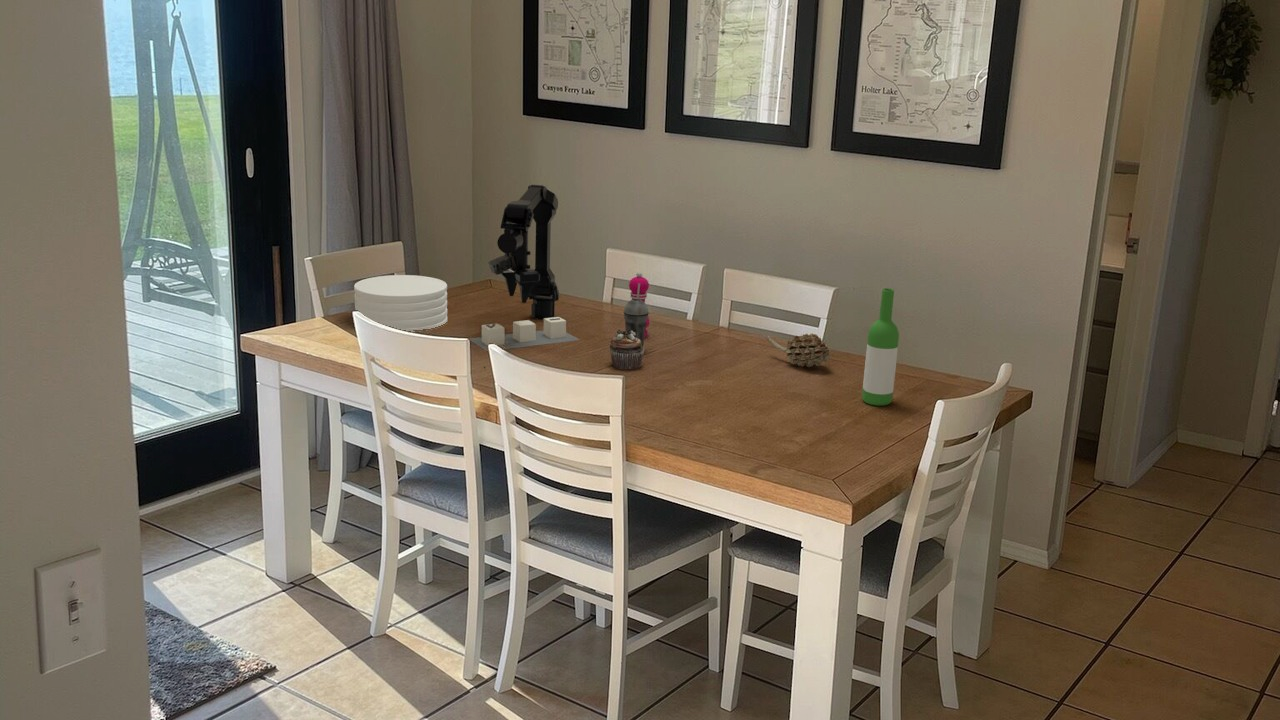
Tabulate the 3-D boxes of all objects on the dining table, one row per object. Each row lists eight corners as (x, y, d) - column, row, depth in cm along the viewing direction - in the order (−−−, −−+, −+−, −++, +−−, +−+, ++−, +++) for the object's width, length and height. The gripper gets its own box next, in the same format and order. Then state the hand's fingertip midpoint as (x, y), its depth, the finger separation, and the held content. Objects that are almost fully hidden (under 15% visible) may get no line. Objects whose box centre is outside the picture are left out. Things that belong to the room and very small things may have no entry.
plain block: (528, 336, 345) (528, 320, 343) (535, 340, 341) (535, 324, 339) (513, 338, 342) (513, 321, 341) (520, 342, 338) (520, 325, 337)
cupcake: (614, 371, 317) (615, 336, 314) (605, 361, 326) (606, 326, 323) (647, 369, 319) (649, 335, 316) (638, 359, 328) (639, 325, 325)
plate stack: (438, 335, 345) (437, 297, 342) (344, 331, 345) (343, 293, 342) (454, 311, 372) (454, 276, 369) (368, 308, 372) (367, 273, 369)
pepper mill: (649, 333, 355) (652, 270, 349) (647, 340, 348) (650, 275, 342) (626, 332, 356) (628, 268, 350) (623, 338, 349) (626, 273, 343)
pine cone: (836, 369, 327) (839, 335, 324) (818, 376, 320) (821, 341, 317) (771, 352, 340) (773, 320, 337) (752, 359, 333) (755, 325, 330)
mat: (559, 330, 355) (559, 328, 355) (580, 341, 343) (580, 339, 343) (467, 340, 340) (467, 338, 340) (486, 353, 328) (486, 351, 328)
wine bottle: (887, 397, 304) (899, 286, 295) (895, 407, 296) (907, 293, 288) (858, 396, 304) (869, 285, 295) (865, 406, 296) (876, 292, 287)
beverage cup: (617, 352, 334) (619, 284, 329) (629, 346, 341) (632, 280, 335) (639, 356, 331) (642, 288, 325) (651, 350, 337) (654, 283, 332)
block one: (558, 332, 350) (558, 316, 348) (565, 336, 346) (566, 320, 344) (543, 334, 347) (543, 317, 346) (550, 338, 343) (551, 321, 342)
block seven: (497, 339, 340) (497, 322, 338) (504, 344, 336) (504, 327, 334) (481, 341, 337) (481, 324, 336) (488, 346, 333) (488, 328, 332)
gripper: (480, 242, 339) (480, 294, 343) (504, 254, 323) (504, 309, 327) (515, 240, 344) (514, 291, 348) (541, 252, 328) (540, 305, 333)
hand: (517, 299), depth 339 cm, fingers open, 9 cm apart
